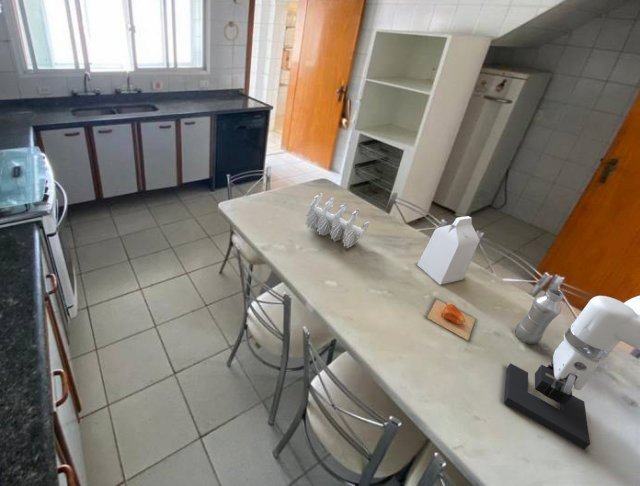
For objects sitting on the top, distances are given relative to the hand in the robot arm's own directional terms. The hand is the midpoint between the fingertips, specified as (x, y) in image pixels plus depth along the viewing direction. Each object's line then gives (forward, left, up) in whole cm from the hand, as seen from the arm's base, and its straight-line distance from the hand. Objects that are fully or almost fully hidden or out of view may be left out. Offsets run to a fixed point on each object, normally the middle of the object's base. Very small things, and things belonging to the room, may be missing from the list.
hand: (550, 387), depth 87 cm
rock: (+24, -13, -5) cm, 28 cm away
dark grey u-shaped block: (0, +3, -4) cm, 5 cm away
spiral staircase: (+75, -28, -5) cm, 80 cm away
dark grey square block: (0, 0, -1) cm, 1 cm away
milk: (+32, -37, -5) cm, 49 cm away
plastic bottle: (+4, -21, -5) cm, 22 cm away
